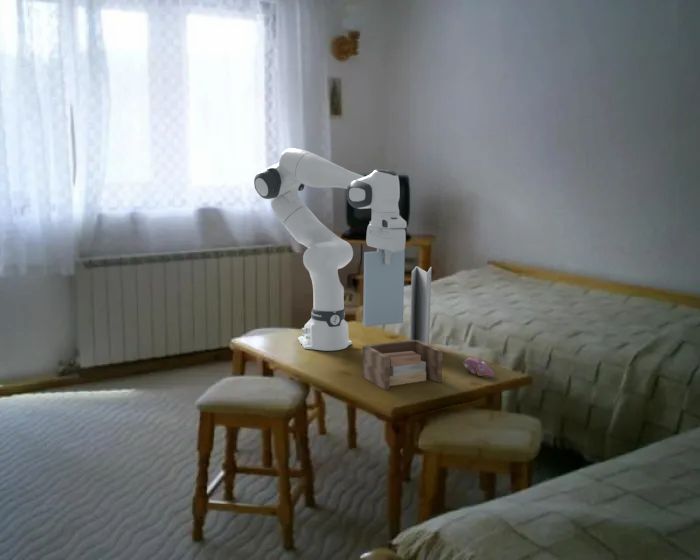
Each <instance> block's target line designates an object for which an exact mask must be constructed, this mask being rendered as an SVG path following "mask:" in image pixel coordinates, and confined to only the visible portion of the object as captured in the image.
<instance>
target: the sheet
mask: <svg viewBox="0 0 700 560" xmlns="http://www.w3.org/2000/svg"><path fill="white" fill-rule="evenodd" d="M405 253H406V252H405V250H404V251H403V252H401V253H394V252H392V256H391V258H390V264H384V263H383V258H385V251H377V250H376V251H365V252H363V290H362V291H363V296H362V297H363V301H362V302H363V305H362V306H363V307H362V309H363V310H362V327H366V328H367V327H376V326H385V325H395V324H403V323H404V303H405V302H404V301H405V299H404V298H405V264H406V263H405V255H406V254H405Z"/></svg>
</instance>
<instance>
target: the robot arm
mask: <svg viewBox="0 0 700 560" xmlns="http://www.w3.org/2000/svg"><path fill="white" fill-rule="evenodd" d="M253 181H254V182H253V183H254V184H253V185H254V189H255V191H256V193H257V194H258V195H259V196H260V197H261V198H262V199H264V200H270V199H271V201H270V205H271V208H272V210H273V213H274V215H276V217H277V219H278V220H279V221H280V223H281V224H282V225H283V226H284V228H285V229H286V230H287V231H288V232H289V234H290V235H291V236H292V238H293V239H294V240H295V241H296V242H297V243H298V244H301V245H302V246H304V247H306V248H307V249H306V250H305V251H304V253H303V256H302V261H303V266H304V267H305V269H306V270H307V271H308V272H309V276H310V279H311V283H312V291H313V298H312V299H313V304H312V305H313V307H312V308H311V311H310V312H311V315H310V317H311V318H310V319H308V321H307V322H306V323H305V324H304V327H302V328H301V334H302V335H300V336H298V337H297V341H298V340H299V341H298V342H299V343H300V345H301V344H302V345H301V346H302V347H303V349H306V350H315V351H316V350H317V351H324V352H326V351H329V352H332V351H340V350H341V351H342V350H344V349H346V348H348V347H349V346H350V345H352V343H353V342H352V340H350V336H349V323H348V322H347V321H346V320H345V318H346V311H345V310H346V309H345V307H344V306H345V305H344V304H345V301H344V300H345V299H344V298H345V292H344V291H345V288H344V286H343V285H342V283H341V281H340V277H339V273H338V271H339V269H343V268H344V267H346V266H347V265H348V264H349V263H350V262H351V261H352V259H353V256H354V249H353V247H352V245H351V244H350V243H349V242H348V241H346V240H344V239H342V238H341V237H339V236H338V235H337V234H336V233H334V232H333V231H332V230H330V228H328V227H327V226H326V225H325V224H323V223H322V222H321V221H320V220H319V219H318V217H316V215H315V214H314V213H313V212H312V210H311V209H310V208H309V207H308V206H307V205H306V204H305V202H304V201H303V200H302V199H301V198H300V196H299V191H303V190H305V186H307V187H311V188H317V189H324V188H325V189H326V188H337V189H338V188H340V189H345V190H346V201H347V202H348V204H349V205H350V206H351V207H352V208H354V209H359V210H363V209H371V215H370V216H371V220H369V224H368V225H367V229H366V236H365V237H366V238H365V240H366V245H367V246H368V247H371V248H374V249H376V252H377V251H385V258H383V263H384V264H390V258H391V256H392V252H394V253H401V252H403V251H405V249H406V242H407V241H406V240H407V238H406V230H405V229H407V223H408V222H407V221H406V220H405V219H404V218H403V217H402V215H400V209H399V201H400V195H401V194H400V192H401V191H400V187H401V186H400V179H399V175H398V173H397V172H396V171H394V170H391V169H386V168H377V169H374V170H373V171H372V172H371V173H370V174H368V175H363V174H361V173H358V172H355V171H353V170H350V169H348V168H345V167H342V166H341V165H338V164H336V163H334V162H331V161H330V160H328V159H326V158H324V157H322V156H319V155H318V154H316V153H314V152H311V151H308V150H305V149H301V148H295V147H288V148H287V149H285V150H284V151H283V152H281V154H280V157H279V161H278V162H276V163H274V164H273V165H270V166H269V167H267V168H263V169H262V170H260V171H259V172H258V173H257V174H256V175H255V176H254V180H253Z"/></svg>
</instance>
